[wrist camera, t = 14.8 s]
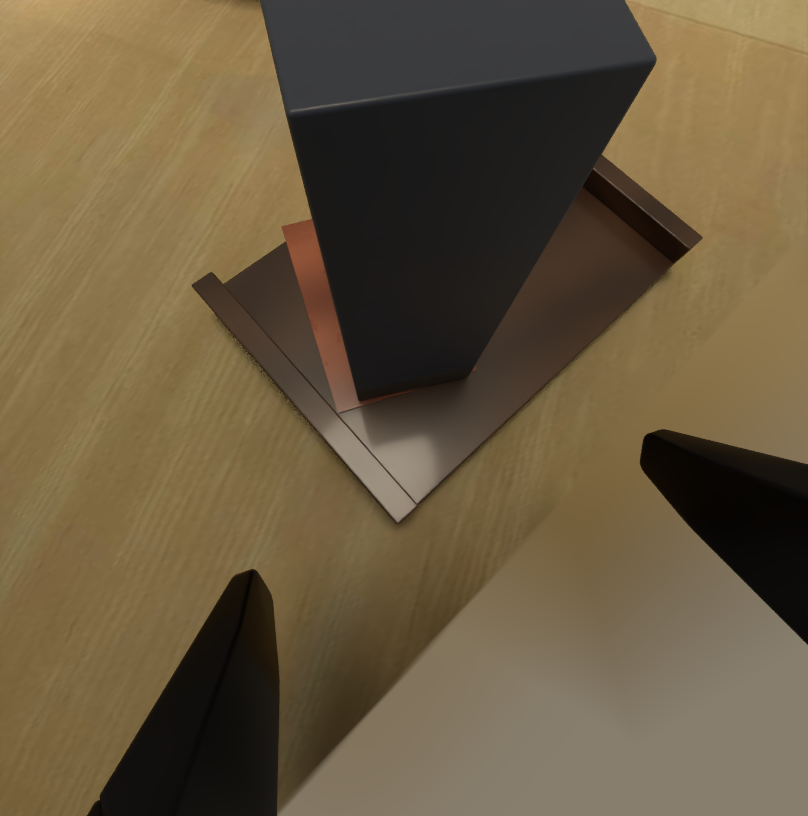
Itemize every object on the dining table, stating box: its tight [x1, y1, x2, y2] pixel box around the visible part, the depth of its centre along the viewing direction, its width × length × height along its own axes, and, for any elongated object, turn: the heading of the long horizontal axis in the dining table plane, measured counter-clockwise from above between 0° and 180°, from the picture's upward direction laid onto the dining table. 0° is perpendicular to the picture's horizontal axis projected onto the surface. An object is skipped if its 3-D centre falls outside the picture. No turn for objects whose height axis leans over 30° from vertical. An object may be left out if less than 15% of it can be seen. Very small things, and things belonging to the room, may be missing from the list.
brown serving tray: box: [192, 155, 703, 524], centre depth 21 cm, size 16×22×3 cm
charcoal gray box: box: [260, 0, 656, 401], centre depth 13 cm, size 10×6×14 cm, turn 14°
